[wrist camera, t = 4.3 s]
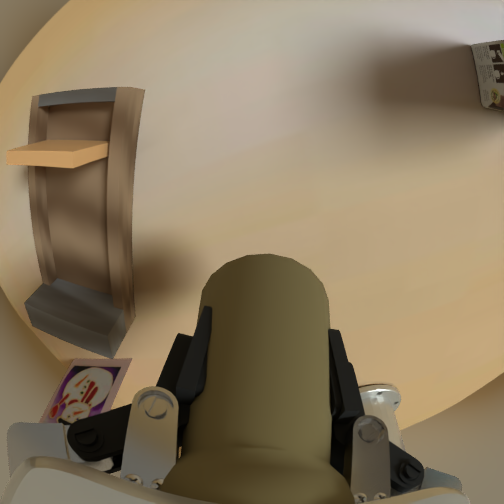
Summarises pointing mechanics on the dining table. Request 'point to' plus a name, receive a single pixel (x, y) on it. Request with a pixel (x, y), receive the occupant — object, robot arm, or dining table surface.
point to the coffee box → (490, 73)
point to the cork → (262, 392)
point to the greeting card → (86, 390)
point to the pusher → (59, 153)
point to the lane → (85, 218)
